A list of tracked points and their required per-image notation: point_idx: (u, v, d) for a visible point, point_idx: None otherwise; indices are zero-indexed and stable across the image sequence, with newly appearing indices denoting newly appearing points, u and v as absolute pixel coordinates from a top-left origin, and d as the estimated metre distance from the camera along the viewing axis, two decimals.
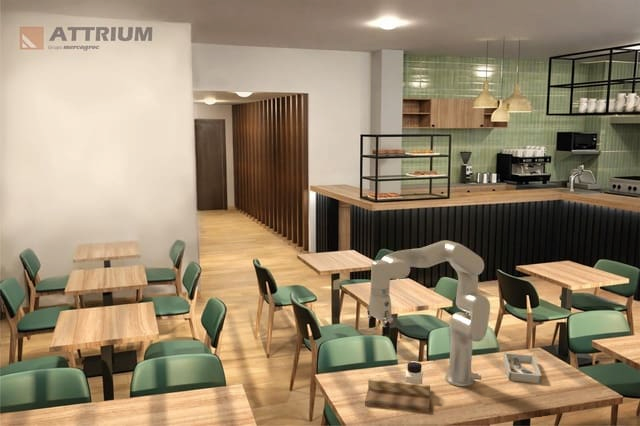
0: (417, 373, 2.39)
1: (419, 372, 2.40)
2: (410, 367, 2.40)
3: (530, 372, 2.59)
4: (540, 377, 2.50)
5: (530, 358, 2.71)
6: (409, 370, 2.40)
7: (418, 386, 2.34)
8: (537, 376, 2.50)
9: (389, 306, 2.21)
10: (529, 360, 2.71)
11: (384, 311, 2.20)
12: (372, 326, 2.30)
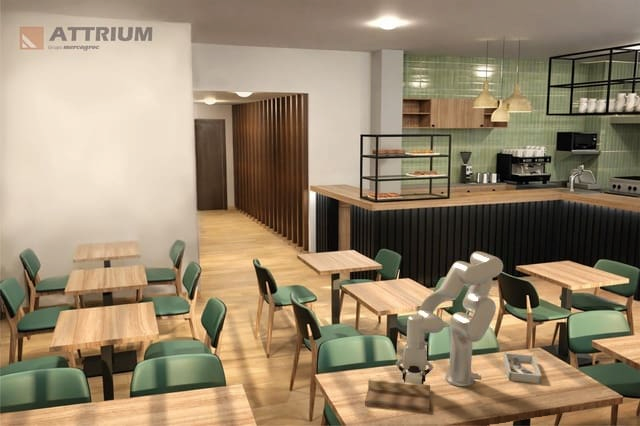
0: (417, 373, 2.39)
1: (419, 372, 2.40)
2: (410, 367, 2.40)
3: (530, 372, 2.59)
4: (540, 377, 2.50)
5: (530, 358, 2.71)
6: (409, 370, 2.40)
7: (418, 386, 2.34)
8: (537, 376, 2.50)
9: (426, 354, 2.41)
10: (529, 360, 2.71)
11: (426, 360, 2.39)
12: None
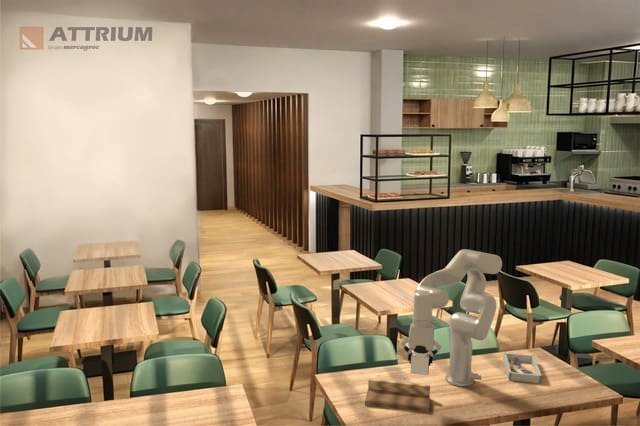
0: (423, 353, 2.24)
1: (426, 352, 2.24)
2: (416, 347, 2.24)
3: (530, 372, 2.59)
4: (540, 377, 2.50)
5: (530, 358, 2.71)
6: (415, 350, 2.25)
7: (418, 386, 2.34)
8: (537, 376, 2.50)
9: None
10: (529, 360, 2.71)
11: (433, 340, 2.24)
12: None
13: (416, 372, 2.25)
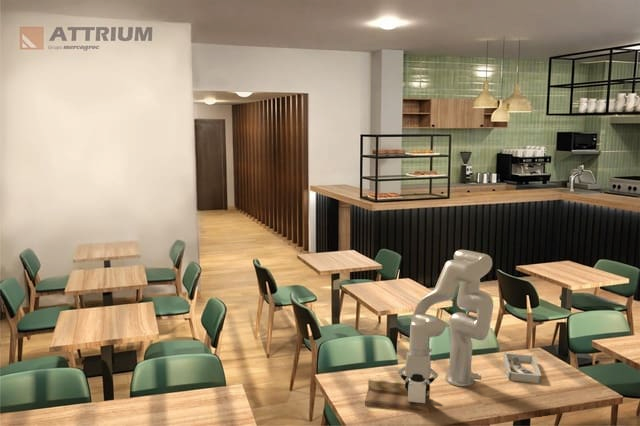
0: (420, 382, 2.25)
1: (423, 381, 2.26)
2: (413, 375, 2.26)
3: (530, 372, 2.59)
4: (540, 377, 2.50)
5: (530, 358, 2.71)
6: (412, 379, 2.26)
7: None
8: (537, 376, 2.50)
9: (430, 362, 2.27)
10: (529, 360, 2.71)
11: (430, 368, 2.25)
12: None
13: (413, 400, 2.26)
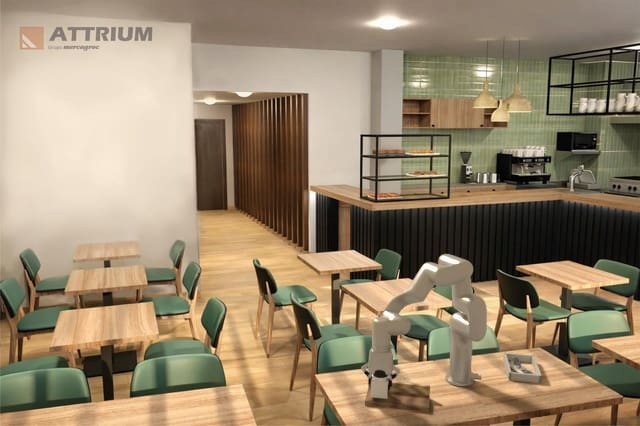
0: (383, 378, 2.28)
1: (385, 377, 2.29)
2: (375, 372, 2.29)
3: (530, 372, 2.59)
4: (540, 377, 2.50)
5: (530, 358, 2.71)
6: (375, 375, 2.29)
7: (418, 386, 2.34)
8: (537, 376, 2.50)
9: None
10: (529, 360, 2.71)
11: (392, 364, 2.28)
12: None
13: (376, 396, 2.29)
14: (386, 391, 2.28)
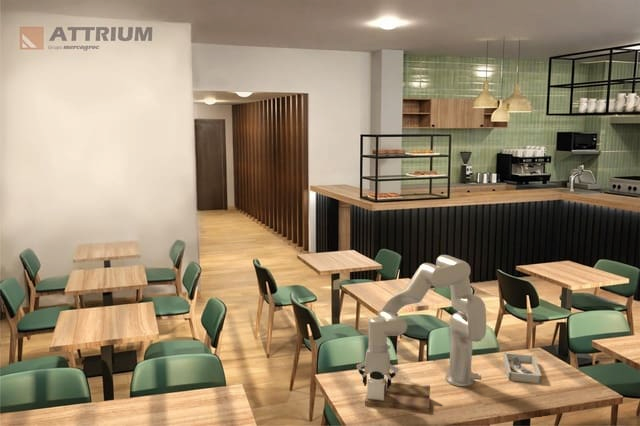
0: (379, 379, 2.29)
1: (382, 378, 2.29)
2: (372, 373, 2.29)
3: (530, 372, 2.59)
4: (540, 377, 2.50)
5: (530, 358, 2.71)
6: (371, 376, 2.30)
7: (418, 386, 2.34)
8: (537, 376, 2.50)
9: (389, 358, 2.31)
10: (529, 360, 2.71)
11: (389, 364, 2.29)
12: (366, 383, 2.33)
13: (372, 397, 2.30)
14: (382, 392, 2.28)
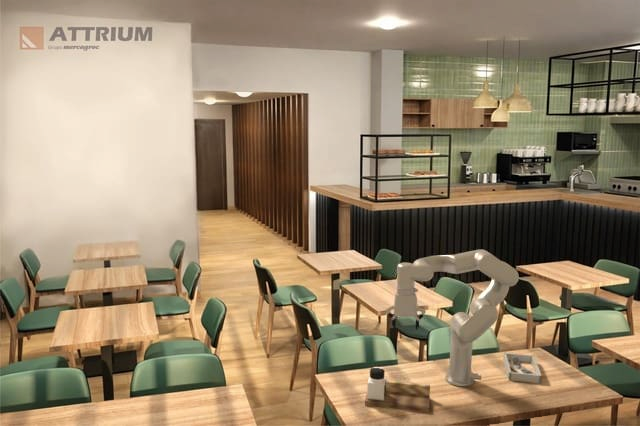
0: (379, 379, 2.29)
1: (382, 378, 2.29)
2: (372, 373, 2.29)
3: (530, 372, 2.59)
4: (540, 377, 2.50)
5: (530, 358, 2.71)
6: (371, 376, 2.30)
7: (418, 386, 2.34)
8: (537, 376, 2.50)
9: None
10: (529, 360, 2.71)
11: (417, 306, 2.43)
12: (395, 326, 2.47)
13: (372, 397, 2.30)
14: (382, 392, 2.28)
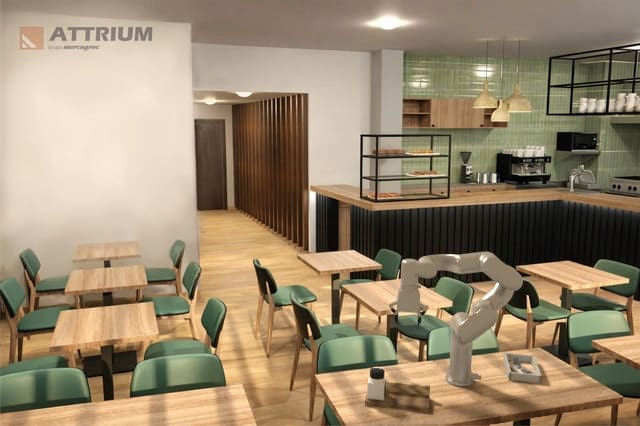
0: (379, 379, 2.29)
1: (382, 378, 2.29)
2: (372, 373, 2.29)
3: (530, 372, 2.59)
4: (540, 377, 2.50)
5: (530, 358, 2.71)
6: (371, 376, 2.30)
7: (418, 386, 2.34)
8: (537, 376, 2.50)
9: None
10: (529, 360, 2.71)
11: (419, 303, 2.45)
12: (397, 321, 2.49)
13: (372, 397, 2.30)
14: (382, 392, 2.28)
